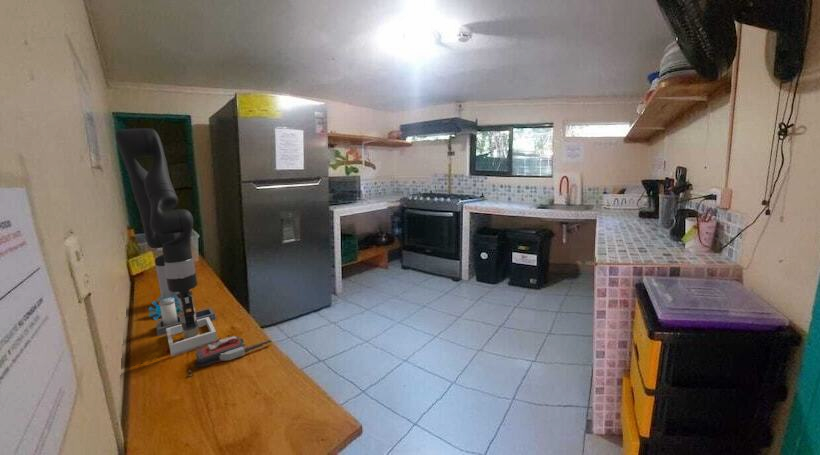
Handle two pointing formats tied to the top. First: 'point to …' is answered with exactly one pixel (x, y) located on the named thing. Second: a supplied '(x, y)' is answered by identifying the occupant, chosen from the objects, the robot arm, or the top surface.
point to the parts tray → (193, 341)
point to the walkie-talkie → (223, 351)
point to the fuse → (168, 311)
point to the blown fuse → (192, 330)
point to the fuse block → (199, 315)
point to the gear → (158, 310)
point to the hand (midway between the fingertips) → (189, 322)
